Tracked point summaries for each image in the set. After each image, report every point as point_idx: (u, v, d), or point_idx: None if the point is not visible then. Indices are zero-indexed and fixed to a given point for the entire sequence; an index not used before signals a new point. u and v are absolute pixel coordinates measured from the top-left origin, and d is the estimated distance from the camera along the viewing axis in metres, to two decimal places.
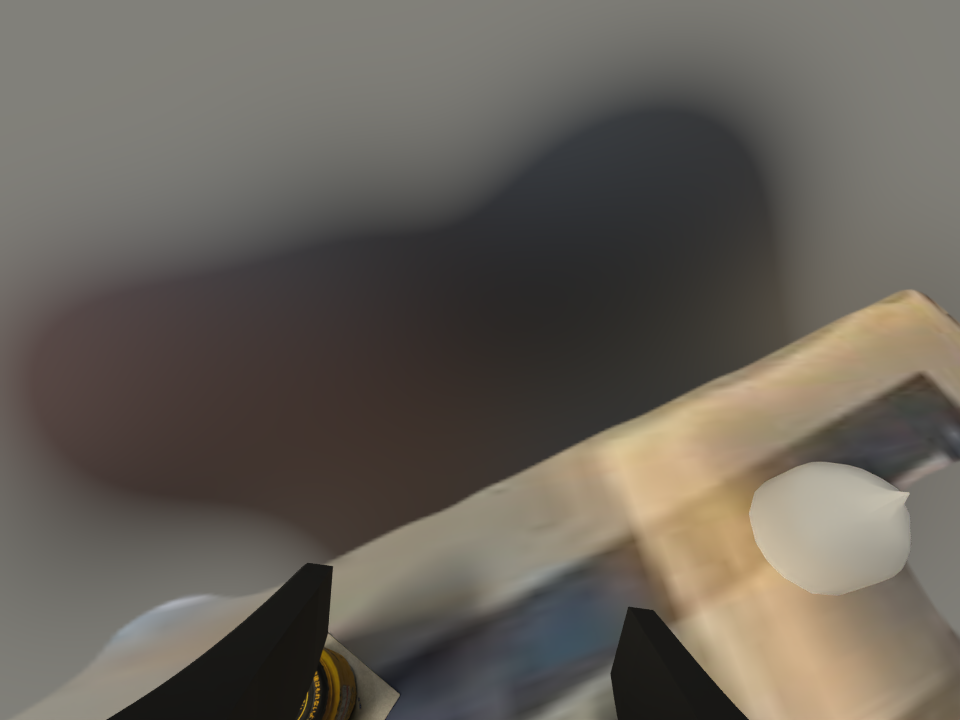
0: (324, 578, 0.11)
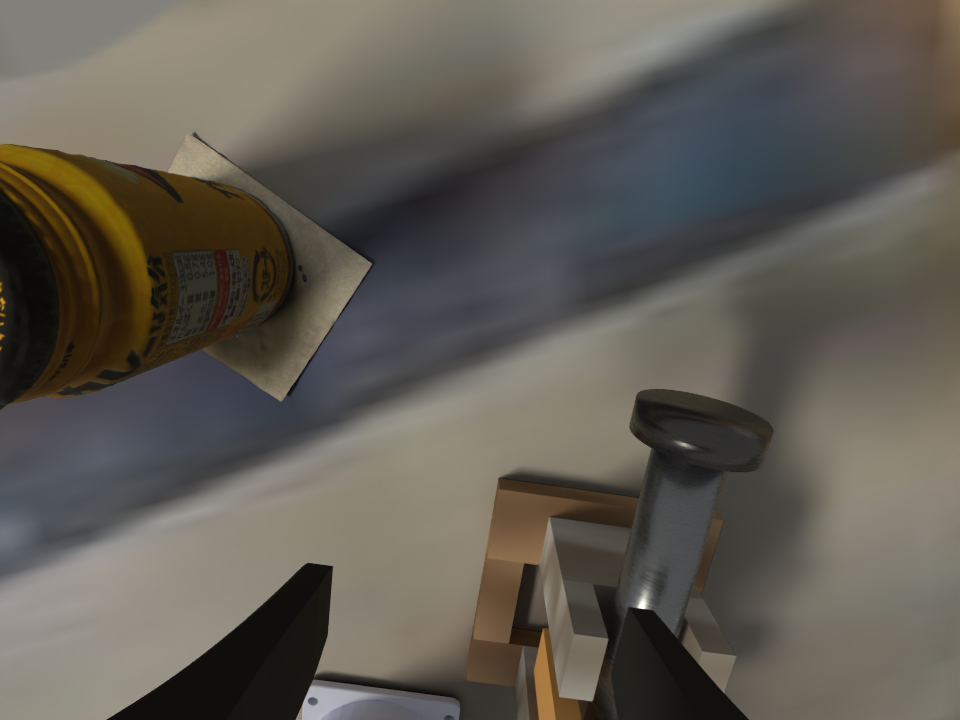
0: (324, 578, 0.11)
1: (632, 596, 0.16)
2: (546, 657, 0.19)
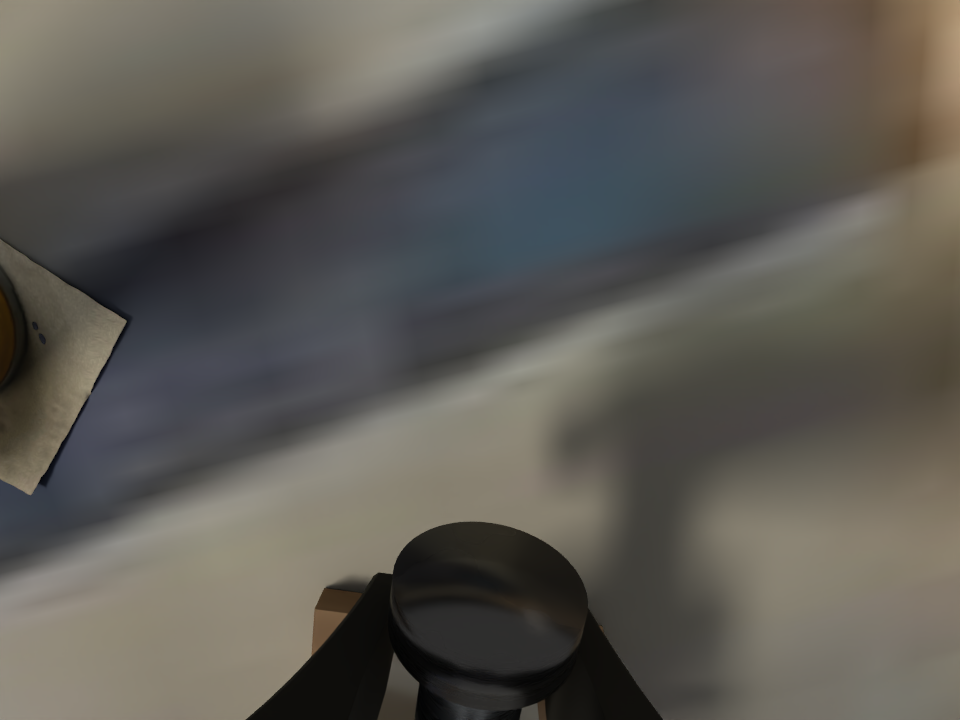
0: None
1: None
2: None
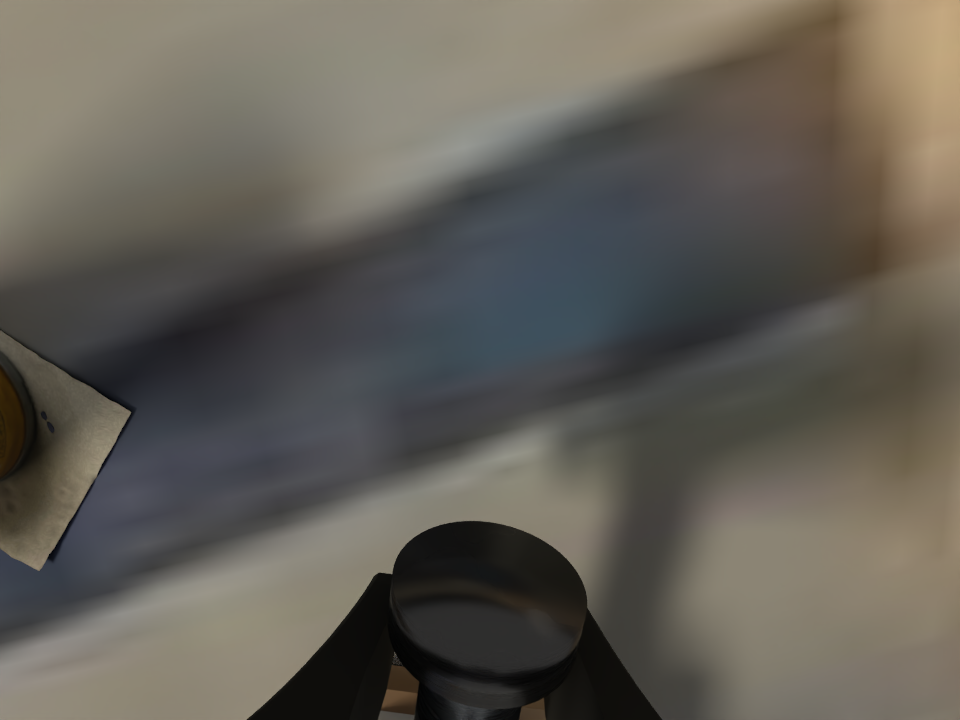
0: None
1: None
2: None
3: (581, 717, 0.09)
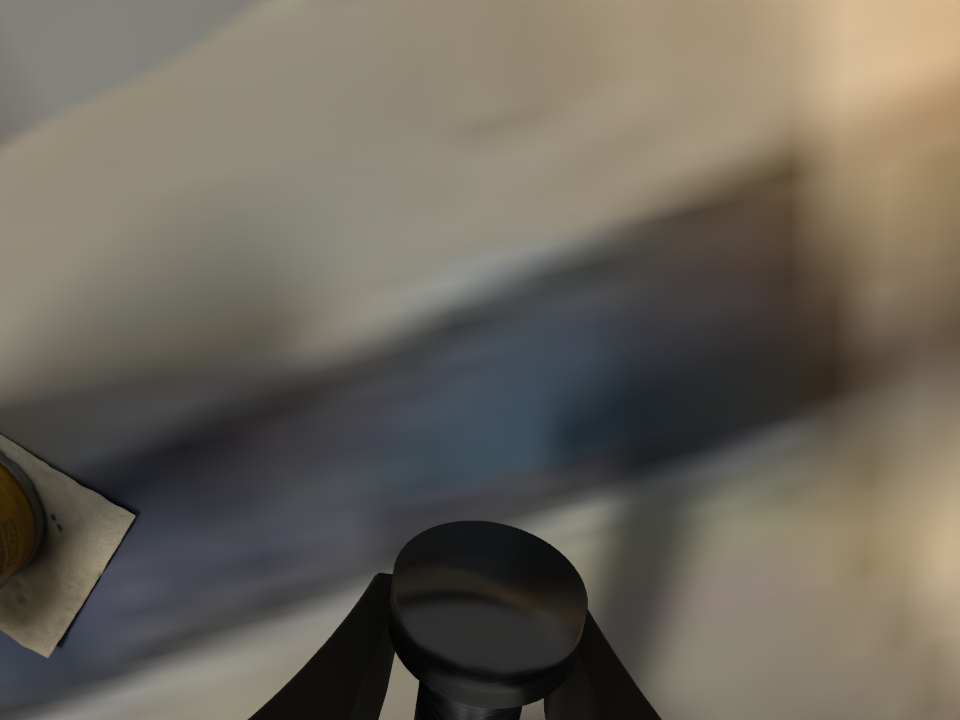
0: None
1: None
2: None
3: (581, 717, 0.09)
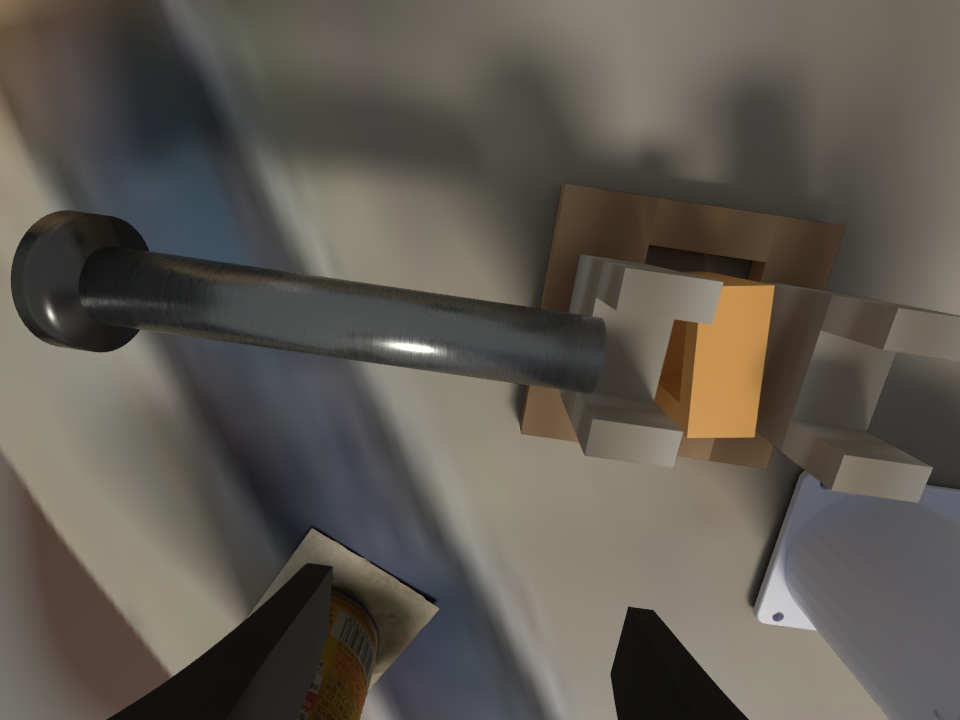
0: (324, 578, 0.11)
1: (284, 348, 0.14)
2: (654, 400, 0.20)
3: None
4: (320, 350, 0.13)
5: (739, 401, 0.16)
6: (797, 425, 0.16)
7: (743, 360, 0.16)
